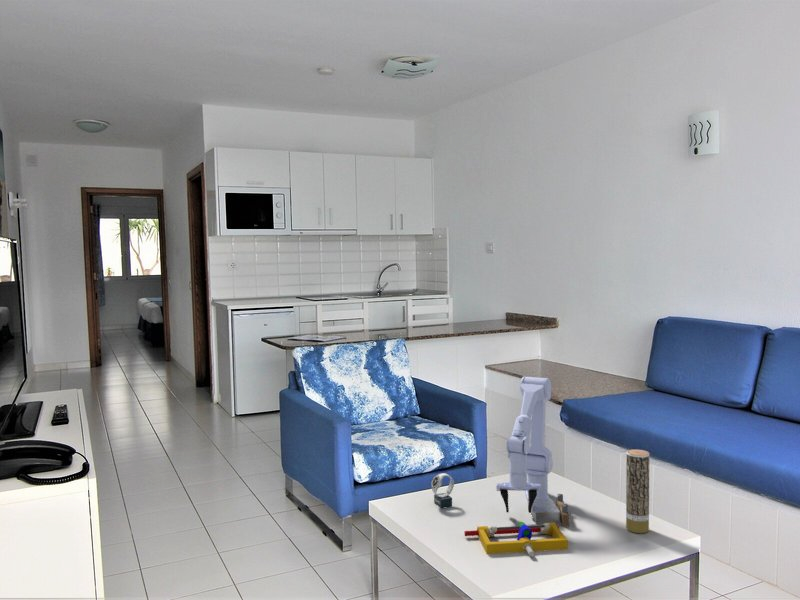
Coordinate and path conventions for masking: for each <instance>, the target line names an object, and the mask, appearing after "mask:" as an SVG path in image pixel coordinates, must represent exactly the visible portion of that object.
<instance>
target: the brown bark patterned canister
mask: <svg viewBox="0 0 800 600" xmlns="http://www.w3.org/2000/svg"><path fill="white" fill-rule="evenodd" d="M625 465H626V466H625V467H626V468H625V469H626V472H625V473H626V480H625V481H626V482H625V483H626V484H625V485H626V486H625V487H626V488H625V489H626V490H625V493H626V498H625V503H626V504H625V506H626V507H625V511H626V512H625V513H626V514H625V515H626V516H625V517H626V518H625V520H626V521H625V522H626V523H625V527H626V529H627V530H628V531H629V532H631V533H634V534H646V533H648V531H649V527H650V452H649V451H647V450H643V449H637V448H636V449H634V448H633V449H628V450H626V463H625Z"/></svg>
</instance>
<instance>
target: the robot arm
mask: <svg viewBox="0 0 800 600" xmlns="http://www.w3.org/2000/svg"><path fill="white" fill-rule="evenodd" d="M519 388H520V393H521V395H522V403H521V408H520V415H518V416H517V417H516V418H515V421H514V425H513V427H512V428H513V429H512V433H511V436H508V438H507V441H506V451H507V458H508V459H509V481H507V482H499V483H497V482H496V484H495V485H496V487H495V489H496V492H500V496H501V498H502V500H503V502H504V506H505V510H506V511H505V512H506V513H509V512H510V511H509V509H510V507H509V491H517V492H518V491H520V492H521V491H524V493H525V496H526V500H528V502H527V503H528V506H527V510H528V514H530V513H531V509H532V505H533V502H534V500H535V499H551V497H550V495H549V492H548V491H549V490H548V489H549V488H548V487H549V485H548V481H549V480H548V478H549V477H548V475H549V474H551V472H552V470H553V463H554V461H553V453H552V451H551V450H550V449H549V448H548V447H547V446H545V437H546V435H545V433H546V432H545V431H546V408H547V407H546V406H547V405H546V404H547V401H550V400H551V397H552V381H551V379H550V378H549V377H536V376H535V377H534V376H533V377H532V376H525V375H524V376H522V378H520V384H519Z"/></svg>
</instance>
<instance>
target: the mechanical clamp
mask: <svg viewBox="0 0 800 600" xmlns="http://www.w3.org/2000/svg"><path fill="white" fill-rule="evenodd" d="M533 533H539V534H540V535H546V536H552V537H553V538H541V539H540V538H539V539H532V536H533ZM512 534H517V537H516V540H504V541H490V539H489V538H491V537H495V535H512ZM464 536H465V537H470V536H472V537H474V536H476V537H477V538H478V540H479V543H480V544H481V545H482V548H483V550H484V552H485V554H486V555H490V554H491V555H492V554H493V555H494V553H495V554H511V553H510V552H513V553H526V552H527V554H528V555H529V556H530V557H533V556H535V552H542V551H543V552H544V550H546V551H558V550H559V551H560V550H561V551H562V550H568V549H569V544H568V543H569V541H568V538H567V537H566V536H565V535H564V533H563V532H562V531H561V530H560V526H559V525H557V524H555V522H553V523H544V524H535V525H533V524H532V525H528V524H526V523H525V522H523V521H520V522H519V523H518V526H517V525H516V526H515V525H514V526H497V525H494V526H493V525H491V526H490V527H488V526H487V525H484V526H476V530H464ZM508 552H509V553H508Z"/></svg>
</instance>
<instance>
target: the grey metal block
mask: <svg viewBox="0 0 800 600" xmlns="http://www.w3.org/2000/svg"><path fill="white" fill-rule="evenodd" d="M531 515H532V516H531ZM530 516H531V518H532V517H533V518H532V519H534V520H533V521H534V524H535V525H543V524H544V523H553V522H555V524H556V525H558V524H561V520H560V511H559V510H558V508H557V506H556V502H554V500H553V499H552V498H550V499H535V500H534V502H533V505H532V509H531V514H530Z"/></svg>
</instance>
